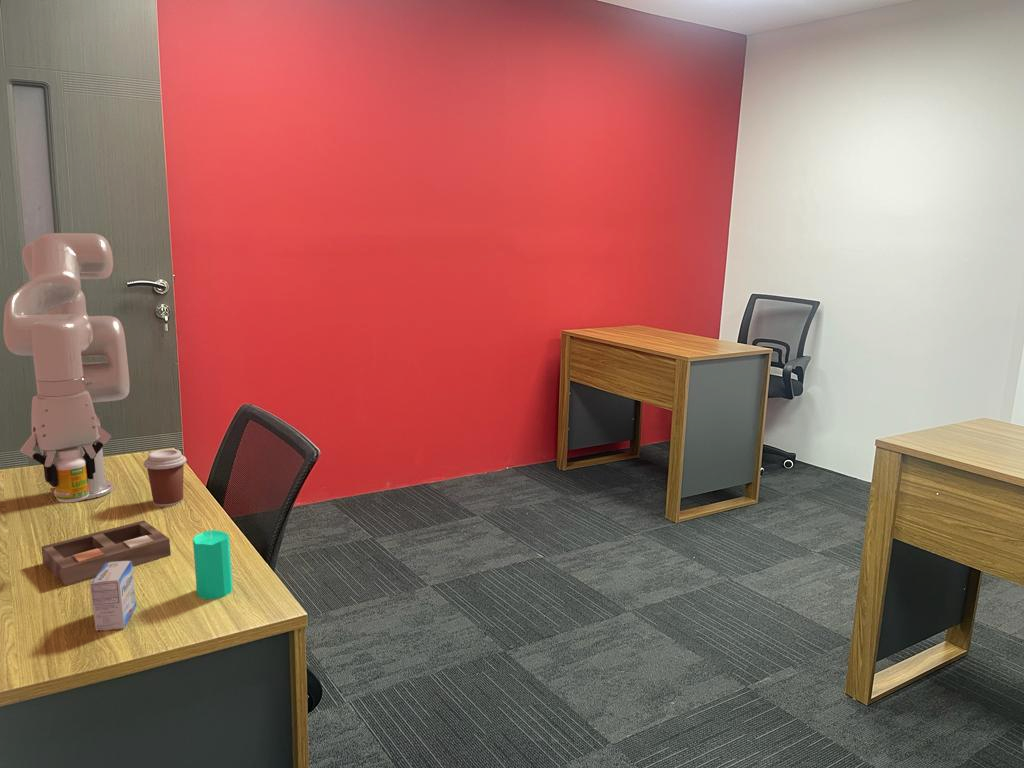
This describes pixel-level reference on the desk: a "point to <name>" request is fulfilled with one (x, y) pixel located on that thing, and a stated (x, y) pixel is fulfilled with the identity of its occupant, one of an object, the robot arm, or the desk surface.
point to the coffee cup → (166, 476)
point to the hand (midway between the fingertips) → (71, 480)
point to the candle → (212, 564)
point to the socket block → (104, 551)
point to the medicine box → (113, 595)
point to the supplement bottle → (71, 475)
